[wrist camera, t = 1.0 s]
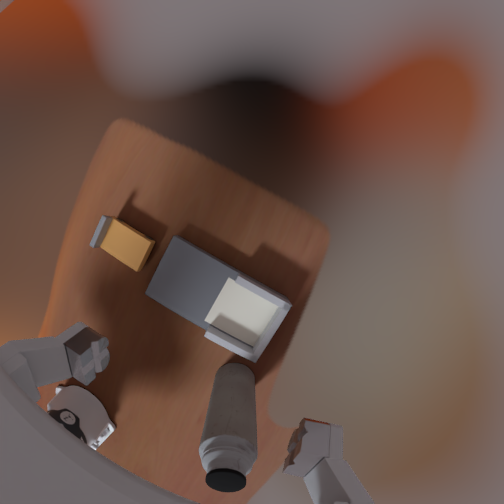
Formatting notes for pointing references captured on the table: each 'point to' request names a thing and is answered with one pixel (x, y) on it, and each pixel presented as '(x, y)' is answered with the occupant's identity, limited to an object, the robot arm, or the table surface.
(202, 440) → the thermos bottle
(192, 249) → the dock
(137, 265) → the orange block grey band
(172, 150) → the table surface
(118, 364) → the table surface
